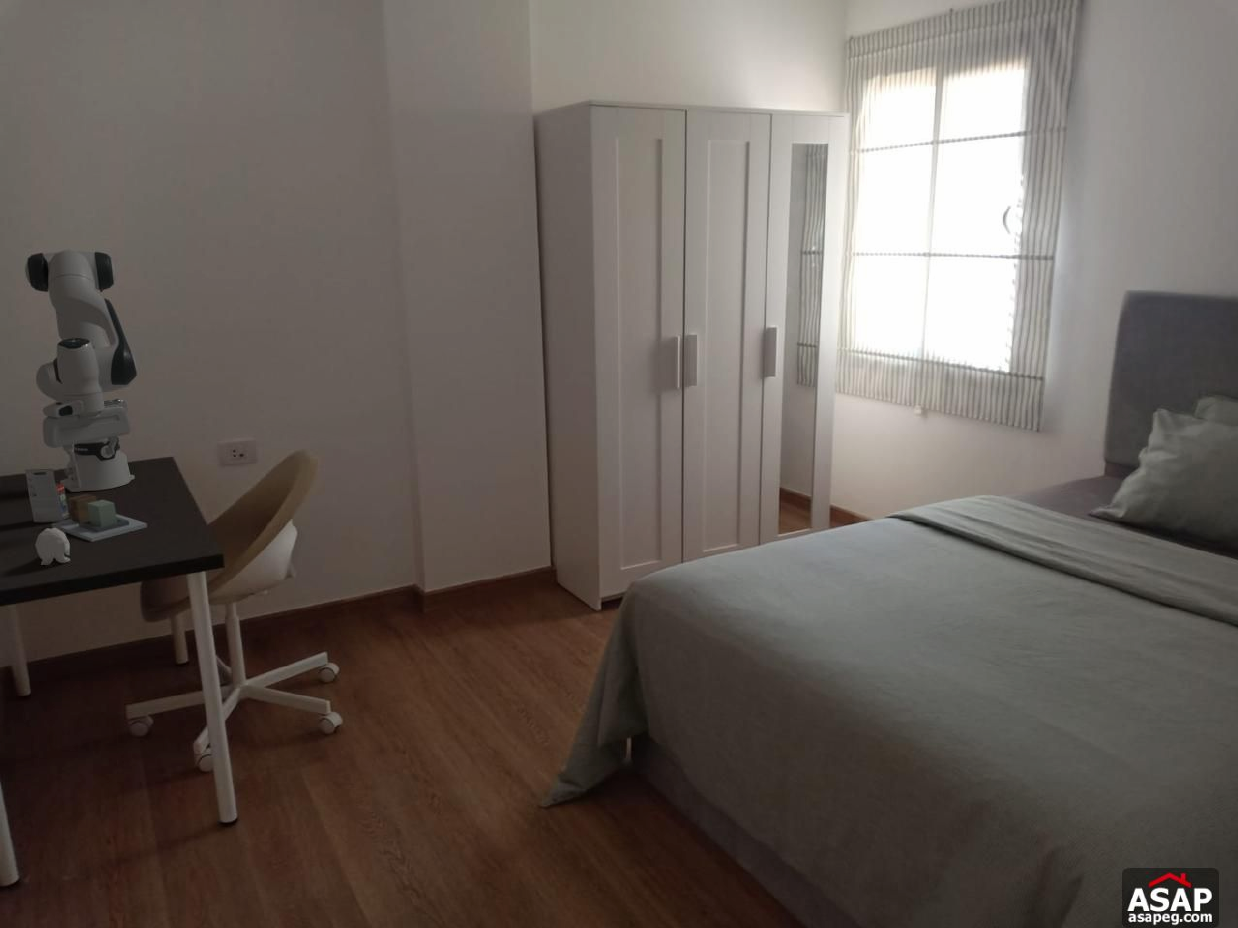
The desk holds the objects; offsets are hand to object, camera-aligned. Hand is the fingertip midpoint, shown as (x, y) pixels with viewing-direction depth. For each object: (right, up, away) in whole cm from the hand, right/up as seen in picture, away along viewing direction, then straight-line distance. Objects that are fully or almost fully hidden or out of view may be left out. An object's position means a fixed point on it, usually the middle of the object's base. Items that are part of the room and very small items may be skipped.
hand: (93, 458), depth 245 cm
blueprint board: (-2, -18, +6) cm, 19 cm away
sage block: (+1, -17, +4) cm, 18 cm away
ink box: (-19, -17, +14) cm, 29 cm away
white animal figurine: (+2, -24, -18) cm, 30 cm away
